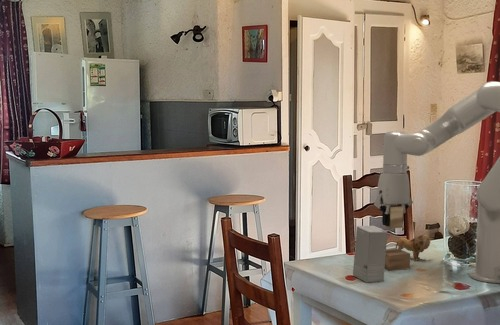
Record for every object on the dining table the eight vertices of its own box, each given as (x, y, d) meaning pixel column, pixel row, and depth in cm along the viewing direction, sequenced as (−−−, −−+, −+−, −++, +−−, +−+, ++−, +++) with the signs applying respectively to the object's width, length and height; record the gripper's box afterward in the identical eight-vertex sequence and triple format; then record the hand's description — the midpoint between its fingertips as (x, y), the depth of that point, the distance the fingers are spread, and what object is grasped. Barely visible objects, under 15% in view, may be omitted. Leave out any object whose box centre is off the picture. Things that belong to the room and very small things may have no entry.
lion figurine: (432, 260, 207) (433, 234, 206) (425, 263, 203) (426, 237, 202) (393, 253, 216) (394, 228, 216) (386, 255, 213) (387, 230, 212)
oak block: (402, 227, 196) (403, 206, 195) (390, 228, 194) (391, 207, 193) (394, 225, 200) (395, 204, 199) (382, 226, 198) (383, 205, 198)
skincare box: (352, 275, 187) (353, 225, 186) (372, 273, 190) (373, 224, 188) (366, 283, 179) (367, 231, 178) (387, 281, 182) (388, 229, 180)
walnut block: (409, 268, 196) (410, 253, 195) (389, 270, 193) (389, 255, 193) (395, 262, 203) (395, 247, 203) (375, 264, 200) (375, 249, 200)
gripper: (409, 167, 202) (407, 221, 204) (366, 169, 196) (364, 224, 197) (423, 170, 195) (421, 225, 197) (379, 171, 189) (377, 229, 190)
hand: (392, 224), depth 197 cm, fingers closed on oak block, 4 cm apart
